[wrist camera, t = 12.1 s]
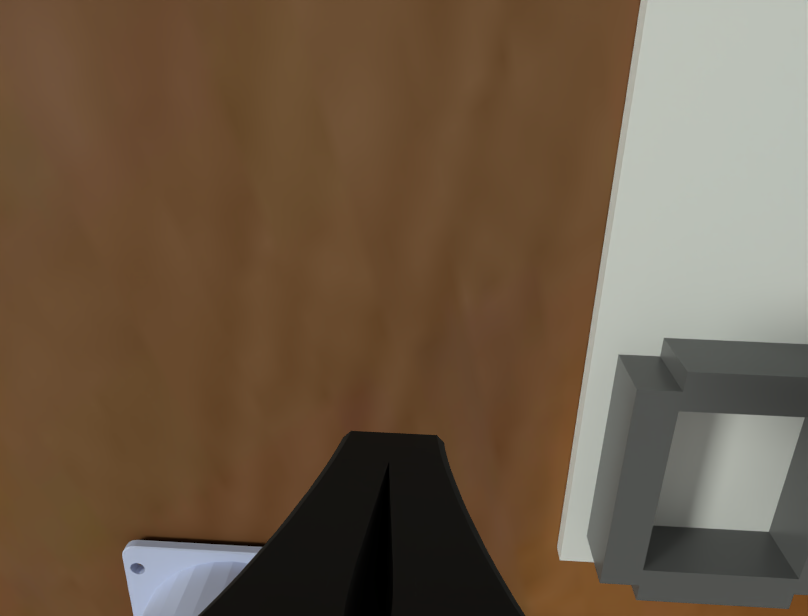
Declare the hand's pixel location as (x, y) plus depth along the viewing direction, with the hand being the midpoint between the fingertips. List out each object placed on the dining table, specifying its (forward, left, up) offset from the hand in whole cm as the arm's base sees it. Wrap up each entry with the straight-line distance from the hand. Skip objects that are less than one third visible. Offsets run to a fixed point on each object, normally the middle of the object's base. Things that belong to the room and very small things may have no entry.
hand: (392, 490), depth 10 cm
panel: (-2, -12, -10) cm, 16 cm away
